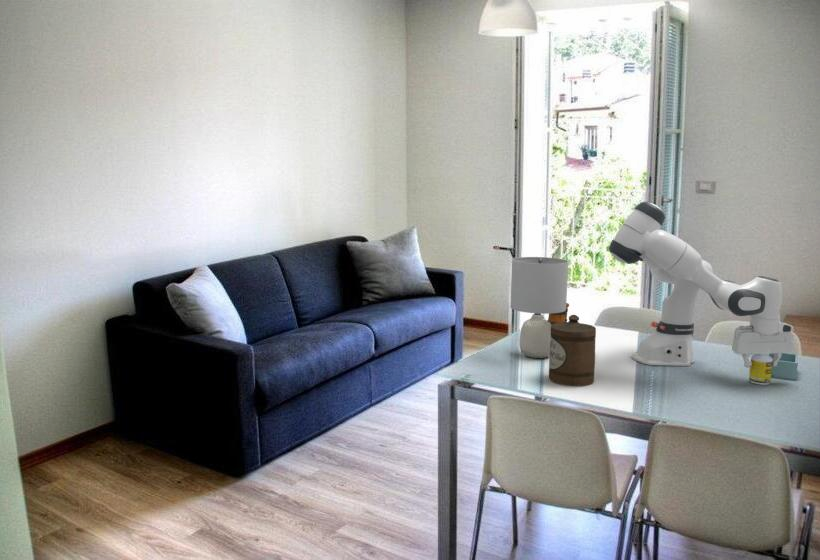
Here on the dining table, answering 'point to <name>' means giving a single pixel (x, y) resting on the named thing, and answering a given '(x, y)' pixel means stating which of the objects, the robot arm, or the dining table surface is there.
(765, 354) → the pill bottle
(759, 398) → the dining table surface
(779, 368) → the caddy
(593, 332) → the wooden container
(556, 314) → the mug
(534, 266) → the lamp
